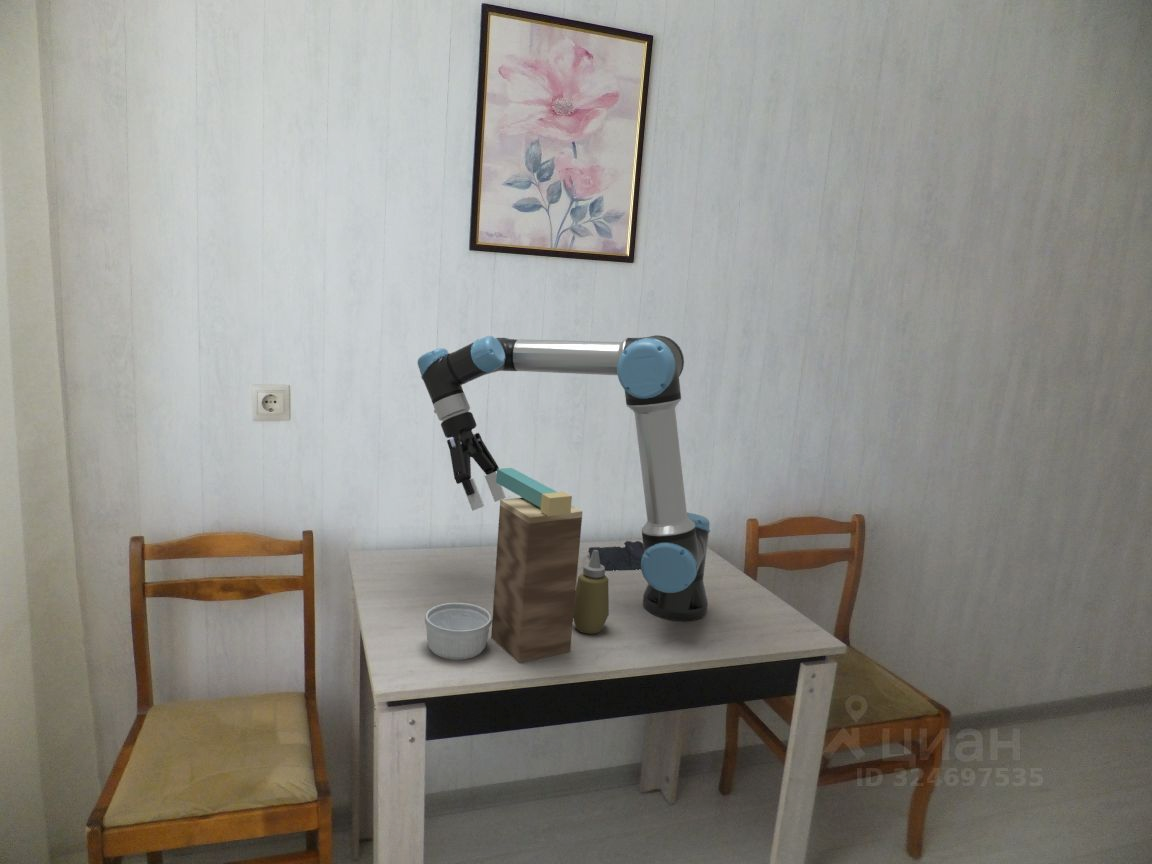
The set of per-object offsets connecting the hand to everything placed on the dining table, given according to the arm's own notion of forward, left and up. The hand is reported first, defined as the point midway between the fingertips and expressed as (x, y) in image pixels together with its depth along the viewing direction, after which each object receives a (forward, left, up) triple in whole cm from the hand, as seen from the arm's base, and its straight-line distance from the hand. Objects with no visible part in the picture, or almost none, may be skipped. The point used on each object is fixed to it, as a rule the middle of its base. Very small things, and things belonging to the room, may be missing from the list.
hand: (489, 504), depth 188 cm
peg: (-13, +15, +7) cm, 21 cm away
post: (-16, +18, -23) cm, 33 cm away
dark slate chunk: (-28, -41, -24) cm, 55 cm away
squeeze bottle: (-26, +6, -23) cm, 35 cm away
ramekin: (-2, +24, -23) cm, 34 cm away
